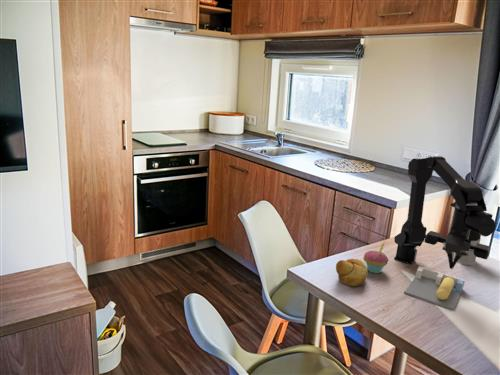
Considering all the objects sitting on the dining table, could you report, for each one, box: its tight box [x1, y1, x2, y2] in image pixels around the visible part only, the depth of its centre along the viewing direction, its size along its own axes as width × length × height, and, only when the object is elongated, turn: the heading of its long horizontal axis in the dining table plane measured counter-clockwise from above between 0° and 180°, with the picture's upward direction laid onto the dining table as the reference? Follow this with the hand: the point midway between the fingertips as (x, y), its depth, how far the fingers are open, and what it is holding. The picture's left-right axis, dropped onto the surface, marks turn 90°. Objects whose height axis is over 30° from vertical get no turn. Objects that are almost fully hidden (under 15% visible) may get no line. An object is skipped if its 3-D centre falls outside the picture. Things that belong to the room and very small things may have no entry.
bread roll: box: [335, 258, 369, 287], centre depth 144 cm, size 13×10×8 cm
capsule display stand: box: [403, 265, 466, 311], centre depth 141 cm, size 15×17×4 cm
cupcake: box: [362, 241, 389, 274], centre depth 151 cm, size 9×8×12 cm
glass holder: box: [453, 230, 482, 266], centre depth 164 cm, size 9×14×15 cm, turn 133°
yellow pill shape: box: [436, 277, 455, 300], centre depth 139 cm, size 14×4×4 cm, turn 145°
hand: (451, 268), depth 139 cm, fingers closed
